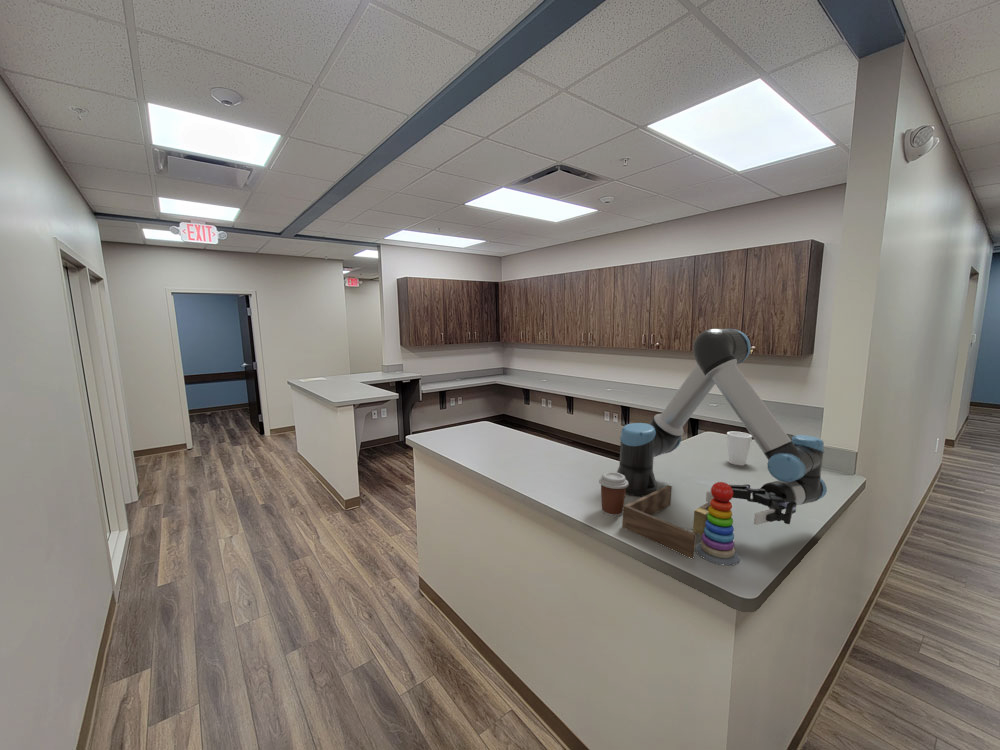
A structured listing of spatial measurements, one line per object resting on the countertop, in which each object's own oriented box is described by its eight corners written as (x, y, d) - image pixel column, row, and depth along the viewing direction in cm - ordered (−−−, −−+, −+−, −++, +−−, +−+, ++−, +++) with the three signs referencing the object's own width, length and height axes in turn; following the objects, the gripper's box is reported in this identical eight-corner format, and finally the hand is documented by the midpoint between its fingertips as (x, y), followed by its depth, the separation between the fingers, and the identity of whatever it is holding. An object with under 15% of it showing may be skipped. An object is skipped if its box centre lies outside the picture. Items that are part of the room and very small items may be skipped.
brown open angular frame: (691, 559, 102) (693, 535, 101) (622, 526, 118) (623, 505, 117) (733, 528, 118) (735, 507, 117) (667, 503, 134) (668, 485, 133)
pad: (700, 561, 101) (700, 559, 101) (692, 541, 111) (692, 539, 111) (744, 568, 98) (744, 566, 98) (732, 547, 108) (733, 545, 108)
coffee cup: (592, 511, 127) (593, 475, 126) (605, 502, 134) (607, 468, 133) (619, 521, 121) (621, 483, 120) (631, 511, 128) (633, 475, 127)
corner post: (703, 535, 114) (705, 514, 113) (692, 531, 116) (694, 510, 115) (708, 532, 115) (709, 511, 115) (697, 528, 118) (699, 507, 117)
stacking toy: (740, 561, 101) (746, 490, 98) (706, 558, 102) (711, 488, 99) (727, 544, 108) (732, 478, 106) (696, 541, 109) (700, 476, 107)
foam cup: (754, 466, 171) (756, 437, 169) (732, 466, 171) (734, 437, 169) (741, 459, 180) (743, 431, 179) (720, 459, 180) (722, 431, 179)
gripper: (831, 527, 101) (778, 545, 93) (738, 490, 124) (689, 501, 116) (834, 499, 100) (781, 514, 92) (740, 467, 123) (691, 476, 115)
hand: (729, 507), depth 104 cm, fingers open, 13 cm apart
